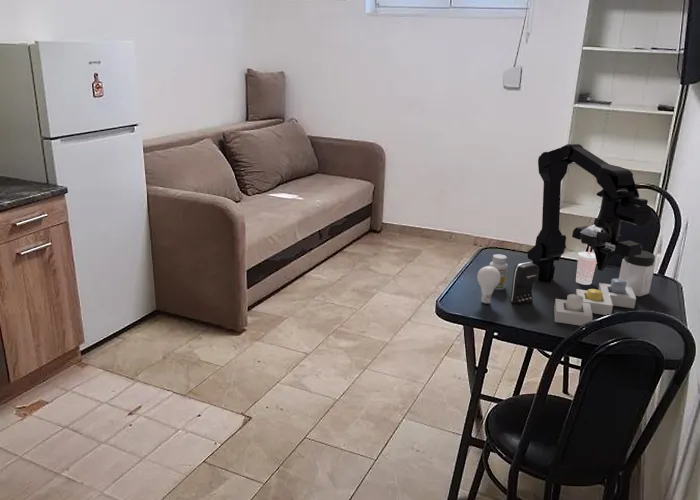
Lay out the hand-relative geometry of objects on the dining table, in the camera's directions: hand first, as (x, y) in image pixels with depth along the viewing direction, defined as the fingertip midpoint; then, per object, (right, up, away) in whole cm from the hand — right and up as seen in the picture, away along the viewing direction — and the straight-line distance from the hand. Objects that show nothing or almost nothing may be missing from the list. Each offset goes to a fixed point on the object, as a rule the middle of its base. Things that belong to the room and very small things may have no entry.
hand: (600, 270), depth 171 cm
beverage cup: (+4, -5, +22) cm, 23 cm away
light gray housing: (+8, -9, +9) cm, 15 cm away
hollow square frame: (-1, -10, +4) cm, 11 cm away
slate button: (+8, -7, +9) cm, 14 cm away
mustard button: (-1, -10, +3) cm, 10 cm away
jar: (+16, -7, +17) cm, 25 cm away
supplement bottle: (-25, -6, +15) cm, 30 cm away
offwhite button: (-9, -11, -5) cm, 15 cm away
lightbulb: (-31, -10, +3) cm, 33 cm away
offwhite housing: (-9, -13, -4) cm, 16 cm away
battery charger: (-20, -9, +5) cm, 23 cm away
